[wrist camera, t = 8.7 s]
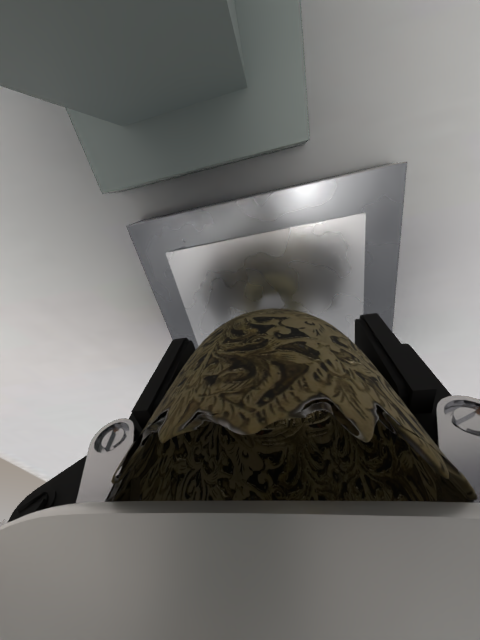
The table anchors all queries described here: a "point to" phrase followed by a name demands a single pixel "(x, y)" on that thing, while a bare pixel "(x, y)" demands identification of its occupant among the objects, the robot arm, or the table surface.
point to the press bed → (280, 253)
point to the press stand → (162, 79)
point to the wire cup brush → (283, 423)
